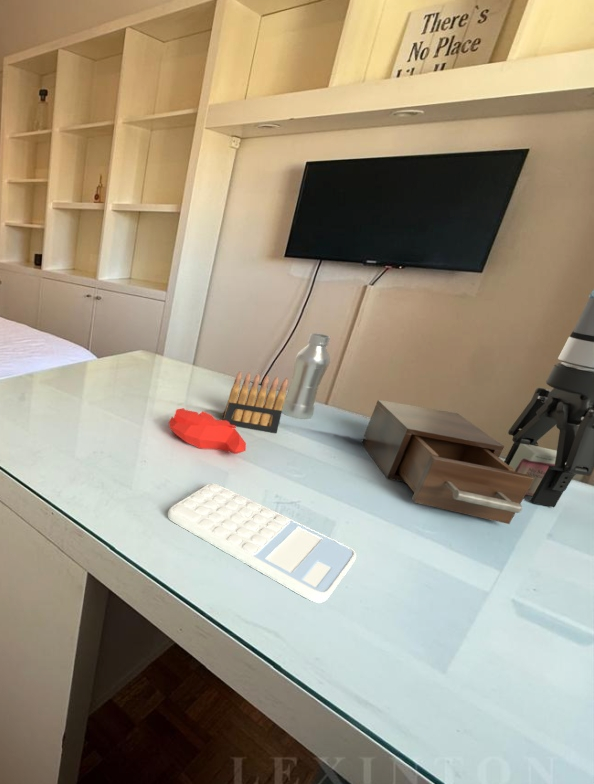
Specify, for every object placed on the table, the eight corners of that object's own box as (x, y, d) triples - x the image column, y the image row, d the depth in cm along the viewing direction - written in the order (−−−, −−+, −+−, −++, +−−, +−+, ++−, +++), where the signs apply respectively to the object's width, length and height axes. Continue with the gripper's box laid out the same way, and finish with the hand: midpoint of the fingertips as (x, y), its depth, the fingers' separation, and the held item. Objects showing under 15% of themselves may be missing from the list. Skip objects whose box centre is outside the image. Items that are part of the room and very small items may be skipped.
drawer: (527, 542, 64) (555, 494, 61) (426, 517, 68) (447, 471, 65) (462, 479, 80) (481, 439, 78) (383, 462, 84) (399, 424, 82)
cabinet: (478, 498, 76) (504, 446, 73) (386, 478, 81) (407, 428, 77) (437, 458, 90) (457, 413, 87) (360, 443, 94) (377, 399, 91)
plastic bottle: (312, 421, 104) (340, 336, 97) (306, 429, 99) (335, 340, 92) (281, 412, 108) (306, 330, 101) (273, 420, 103) (299, 334, 96)
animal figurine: (233, 468, 80) (240, 442, 78) (159, 436, 90) (163, 413, 89) (260, 451, 87) (267, 427, 86) (188, 423, 98) (193, 401, 96)
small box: (511, 492, 79) (533, 452, 76) (499, 481, 83) (519, 442, 80) (551, 501, 77) (574, 460, 74) (536, 489, 81) (558, 449, 78)
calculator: (209, 489, 73) (212, 479, 72) (356, 561, 59) (361, 549, 58) (163, 518, 64) (166, 507, 64) (321, 609, 50) (327, 596, 50)
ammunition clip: (222, 423, 99) (236, 371, 95) (221, 420, 101) (234, 369, 96) (276, 433, 96) (293, 380, 92) (274, 429, 98) (290, 377, 94)
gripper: (688, 393, 61) (599, 531, 69) (574, 356, 80) (515, 467, 88) (612, 382, 64) (534, 516, 72) (519, 349, 83) (466, 458, 91)
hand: (524, 489), depth 80 cm, fingers open, 9 cm apart
